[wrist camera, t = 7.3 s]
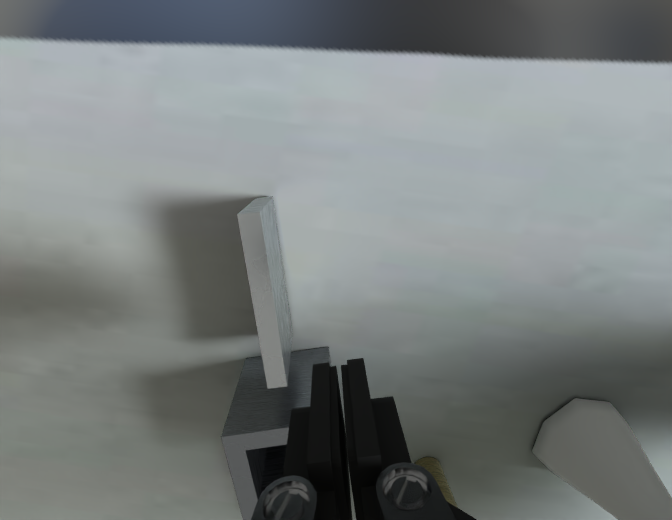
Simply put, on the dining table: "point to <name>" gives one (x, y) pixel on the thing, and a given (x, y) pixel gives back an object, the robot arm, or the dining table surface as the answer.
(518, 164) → the dining table surface
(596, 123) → the dining table surface
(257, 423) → the hinge base
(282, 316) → the loose leaf
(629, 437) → the flask
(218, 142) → the dining table surface
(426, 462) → the hinge pin
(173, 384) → the dining table surface
